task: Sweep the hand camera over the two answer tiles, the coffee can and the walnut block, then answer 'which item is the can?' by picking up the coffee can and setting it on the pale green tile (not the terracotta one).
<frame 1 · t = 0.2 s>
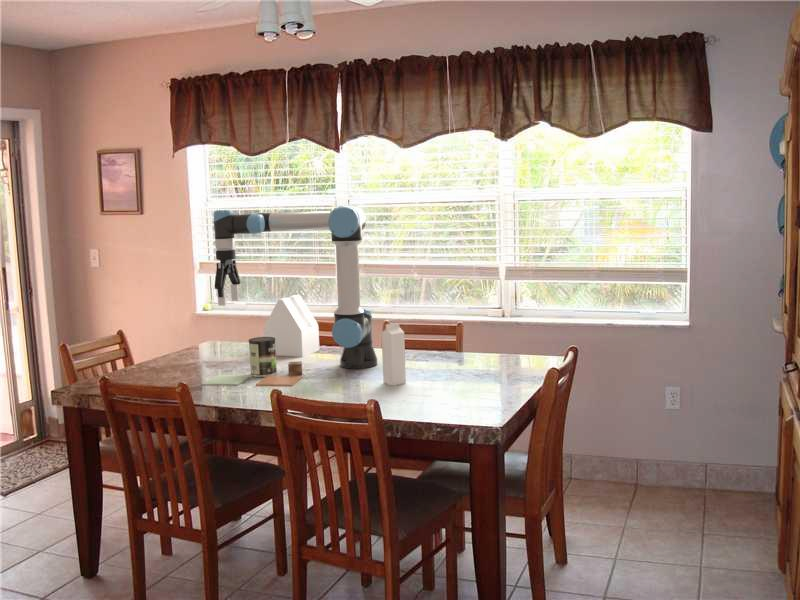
hand: (228, 303, 310), 28 cm above the table, tool pointing down, fingers open, 13 cm apart
pad green: (227, 380, 298), on the table
coffee can: (263, 374, 308), on the table
walnut block: (295, 375, 304), on the table
pad terracotta: (279, 381, 295), on the table
milk: (394, 383, 287), on the table
white house block: (292, 353, 350), on the table
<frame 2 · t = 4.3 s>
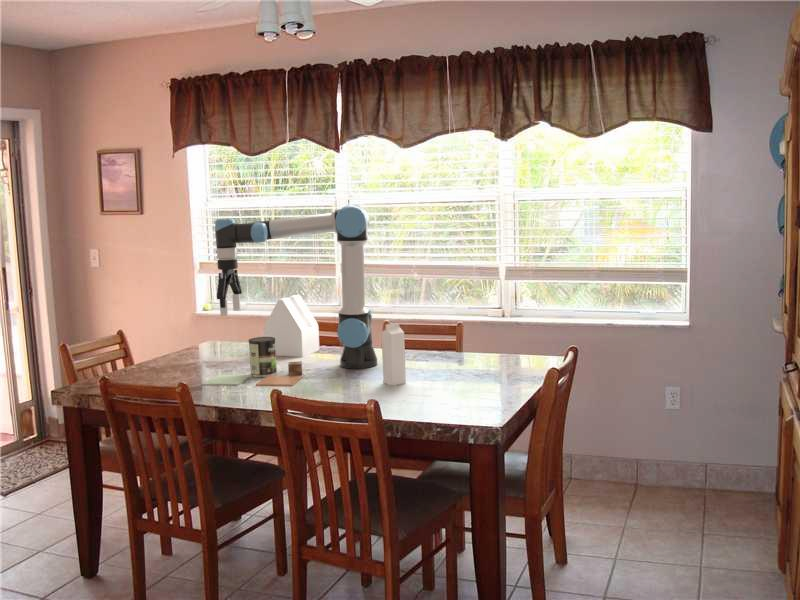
hand: (230, 313, 305), 24 cm above the table, tool pointing down, fingers open, 13 cm apart
nothing on the table moved.
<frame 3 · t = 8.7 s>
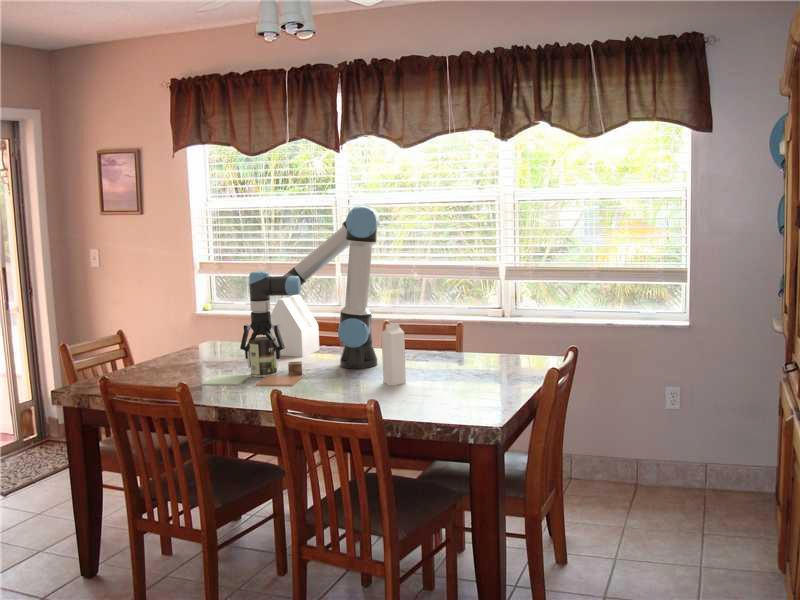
hand: (263, 367, 307), 3 cm above the table, tool pointing down, fingers closed on coffee can, 10 cm apart
coffee can: (264, 374, 308), on the table, touching gripper
everything else where it was.
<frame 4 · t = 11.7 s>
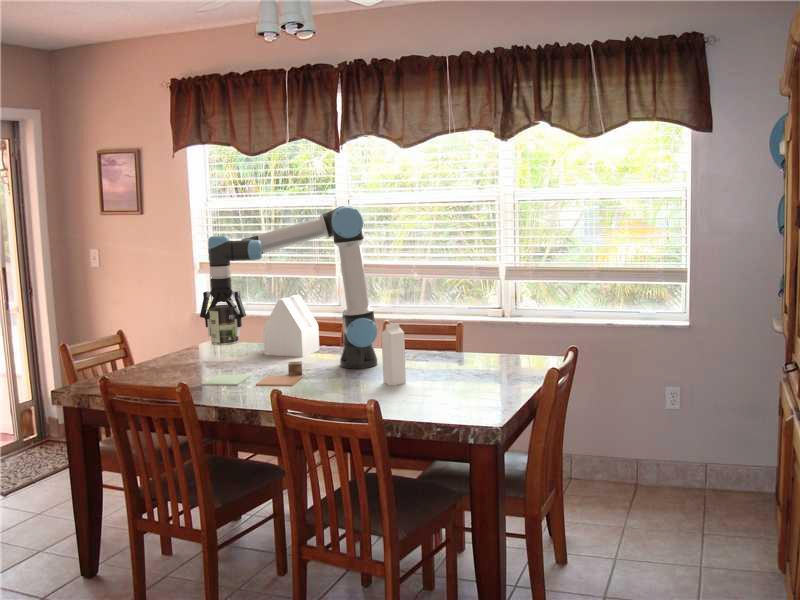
hand: (224, 335, 296), 17 cm above the table, tool pointing down, fingers closed on coffee can, 10 cm apart
coffee can: (225, 343, 297), point 14 cm above the table, touching gripper
everything else where it was.
when the fingers open (5 cm above the table, at t = 14.5 s): coffee can drops 1 cm, resting on pad green.
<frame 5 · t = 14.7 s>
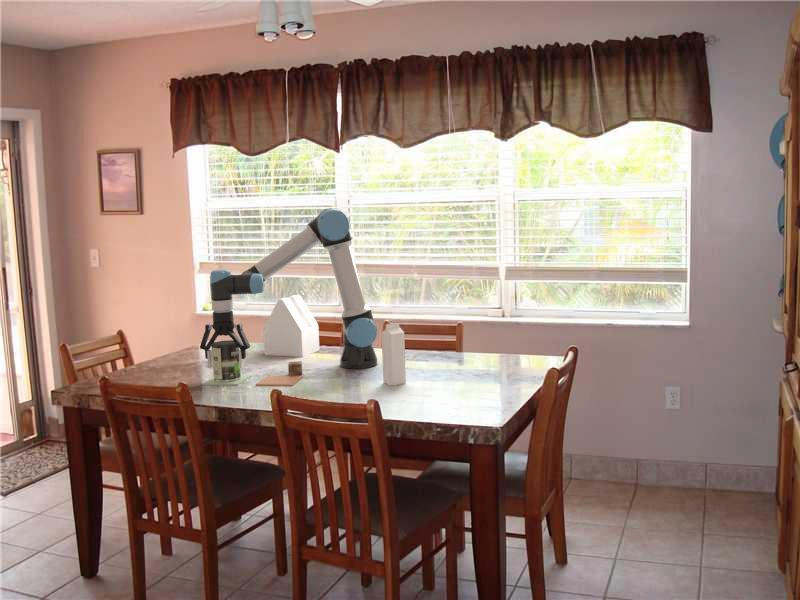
hand: (226, 367, 298), 5 cm above the table, tool pointing down, fingers open, 12 cm apart
coffee can: (227, 379, 299), resting on pad green
everything else where it was.
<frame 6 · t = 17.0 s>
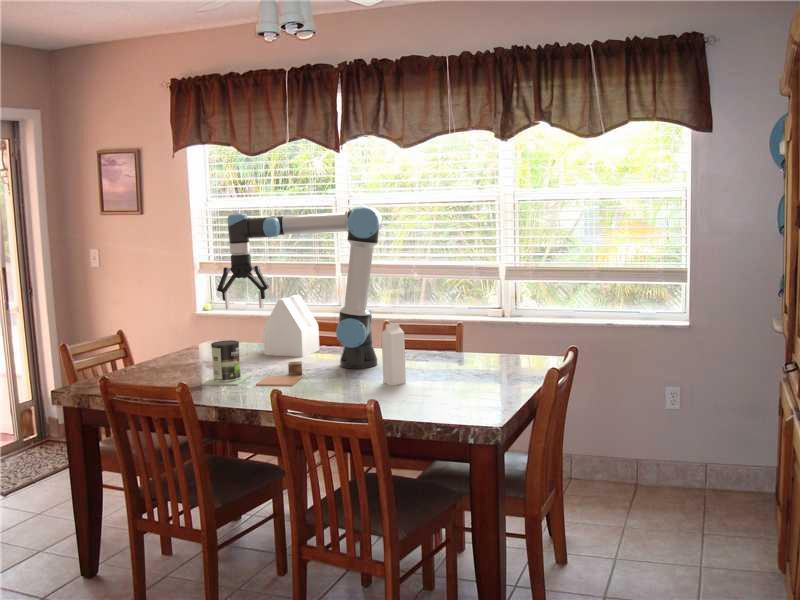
hand: (244, 308, 306), 26 cm above the table, tool pointing down, fingers open, 13 cm apart
nothing on the table moved.
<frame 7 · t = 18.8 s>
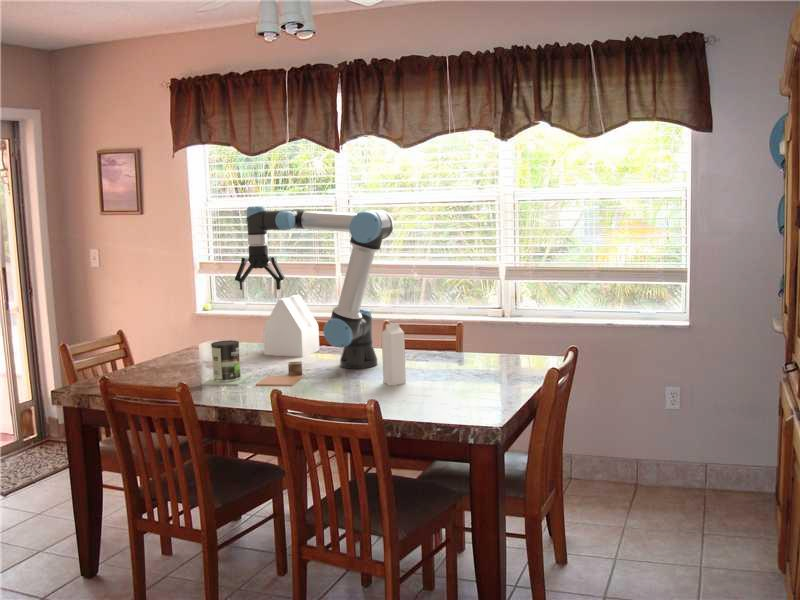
hand: (260, 297, 316), 29 cm above the table, tool pointing down, fingers open, 13 cm apart
nothing on the table moved.
at the end: coffee can 0.4 cm from the pad green (horizontally); coffee can tilted 0°; the gripper is holding nothing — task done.
